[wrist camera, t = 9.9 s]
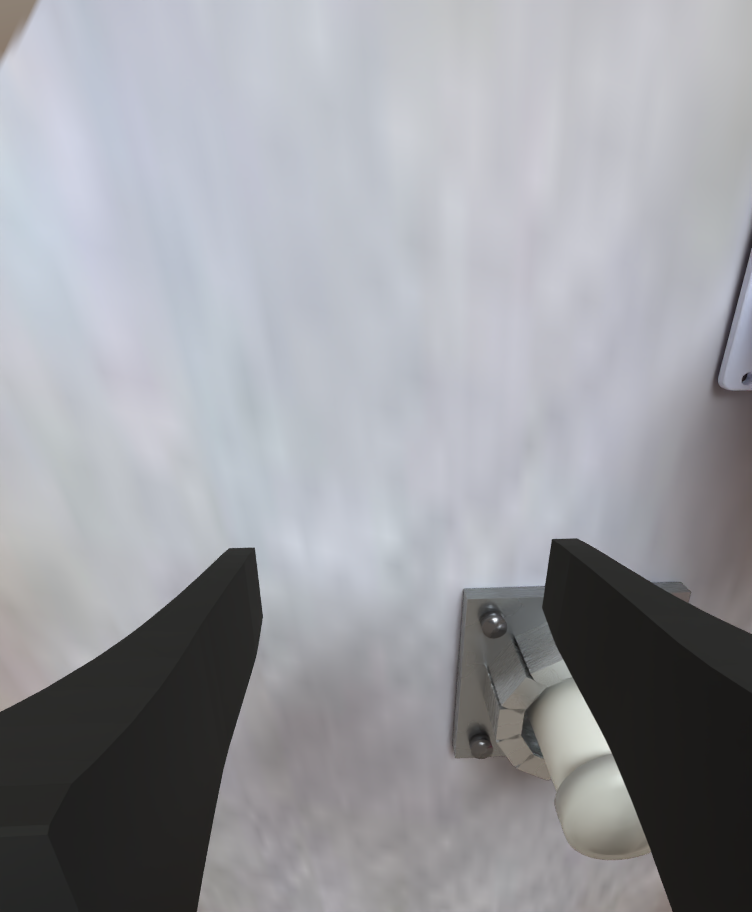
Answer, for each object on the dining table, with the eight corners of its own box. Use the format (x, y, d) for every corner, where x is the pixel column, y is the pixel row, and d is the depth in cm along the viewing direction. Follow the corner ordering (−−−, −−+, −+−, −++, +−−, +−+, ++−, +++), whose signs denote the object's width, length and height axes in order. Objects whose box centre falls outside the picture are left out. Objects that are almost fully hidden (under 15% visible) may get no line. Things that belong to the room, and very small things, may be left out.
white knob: (590, 626, 24) (675, 760, 18) (617, 691, 26) (703, 834, 20) (497, 663, 25) (547, 805, 19) (529, 724, 27) (585, 873, 20)
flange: (680, 582, 25) (725, 626, 22) (638, 737, 29) (671, 792, 26) (463, 588, 24) (479, 634, 21) (452, 745, 28) (463, 802, 25)
